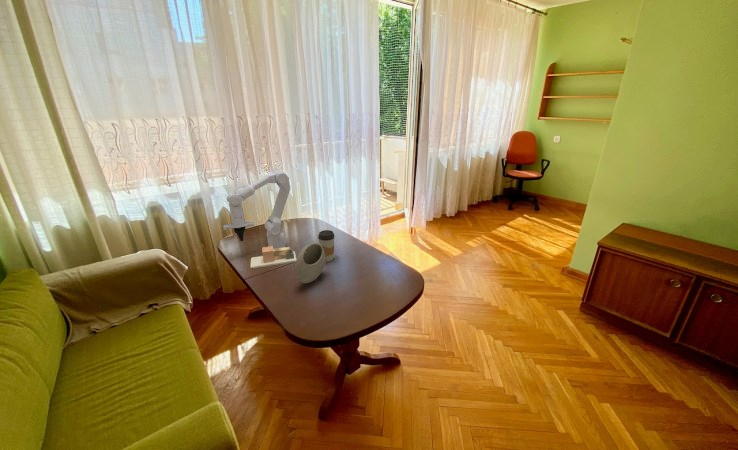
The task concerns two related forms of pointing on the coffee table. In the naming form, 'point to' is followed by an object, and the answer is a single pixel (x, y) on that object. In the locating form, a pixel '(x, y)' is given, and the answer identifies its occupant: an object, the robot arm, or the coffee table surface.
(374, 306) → the coffee table surface
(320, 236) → the coffee cup
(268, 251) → the sliding end cap
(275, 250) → the slat
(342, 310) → the coffee table surface
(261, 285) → the coffee table surface
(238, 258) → the coffee table surface
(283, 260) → the cap board
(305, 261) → the planter
